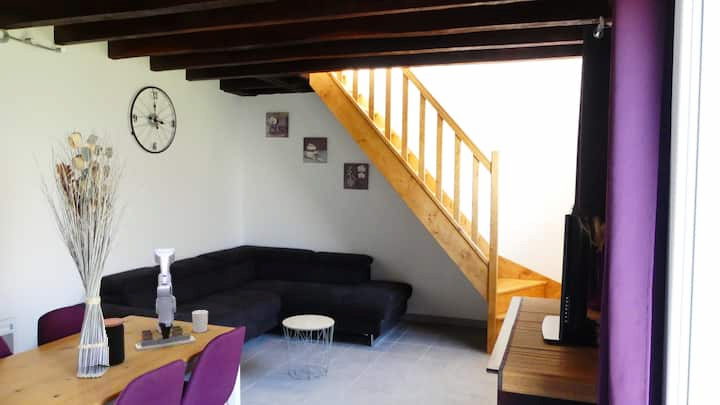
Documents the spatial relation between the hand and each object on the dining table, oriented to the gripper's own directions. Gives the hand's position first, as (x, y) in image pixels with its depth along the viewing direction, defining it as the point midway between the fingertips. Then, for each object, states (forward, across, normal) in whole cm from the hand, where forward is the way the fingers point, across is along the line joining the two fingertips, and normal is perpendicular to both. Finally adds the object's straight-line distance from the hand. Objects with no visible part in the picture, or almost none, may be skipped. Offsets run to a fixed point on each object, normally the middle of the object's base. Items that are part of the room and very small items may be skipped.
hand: (165, 338), depth 253 cm
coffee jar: (+4, +13, -25) cm, 28 cm away
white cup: (+3, -15, +20) cm, 25 cm away
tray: (+3, 0, 0) cm, 3 cm away
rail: (+1, -1, 0) cm, 1 cm away
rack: (+3, -8, 0) cm, 9 cm away
